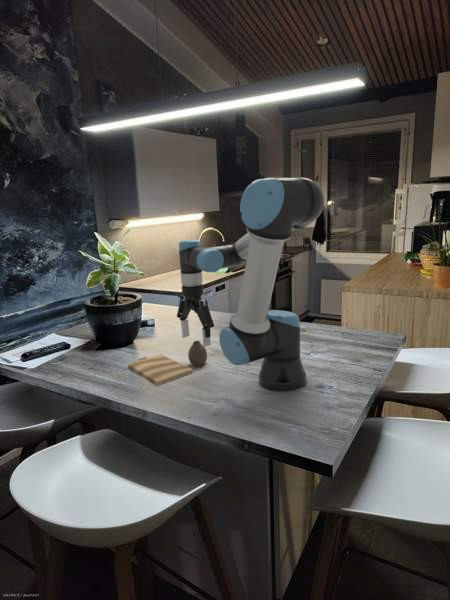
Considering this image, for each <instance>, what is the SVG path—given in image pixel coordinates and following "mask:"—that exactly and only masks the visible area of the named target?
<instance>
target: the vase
mask: <svg viewBox="0 0 450 600" xmlns="http://www.w3.org/2000/svg"><path fill="white" fill-rule="evenodd" d="M187 354H188V355H187V357H188V361H189V363H190V364H191V365H192V366H194V367H202V366H204V365H205V364H206V362H207V360H208V351H207V349H206V347H204V346H203V343H201V341H200V340H194V341H193V342H192V345H191V346H190V348H189V349H188V353H187Z"/></svg>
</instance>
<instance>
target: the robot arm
mask: <svg viewBox="0 0 450 600" xmlns="http://www.w3.org/2000/svg"><path fill="white" fill-rule="evenodd" d="M239 205H240V207H239V211H240V214H241V219H242V222H243V224H244V225H245V226H246V228H245V229H246V232H247V233H245V234H244V235H243V236H242V237H240V238H239V239H238V240H237V241H235V242H234V243H232V244H226V245H219V246H218V245H217V246H211V247H202V245H201V241H200V240H199V239H183V240H180V241H179V243H178V258H179V269H180V284H181V285H182V286H181V294H180V296H179V303H178V308H177V314H176V318H178V319H179V321H180V327H181V338H184V339H185V338H187V337H188V338H189V337H190V326H189V325H190V324H189V317H188V316H189V315H190V312H191V311H194V313H195V314H196V315H197V317H198V319H199V322H200V323H201V325H202V329H201V330H202V331H201V333H202V345H203V346H204V347H205V348H206V347H209V346H211V344H212V343H211V342H212V341H211V329H212V328H214V327H215V324H214V321H213V318H212V314H211V312H210V309H209V305H208V304H209V303H208V300H207V299H202V296H203V295H204V285H203V272H206V273H217V272H218V271H220V270H221V269H226V268H234V267H235V268H236V267H240V266H242V267H245V268H244V271H243V272H244V273H243V279H242V283H241V290H240V295H239V299H238V300H239V301H238V306H237V310H236V312H234V313H233V314H232V315H230V320H229V321H230V322H229V326H225V327H223V328H222V329H220V332H219V338H218V339H219V344H220V345H219V346H220V348H221V351H222V353H223V354H224V357H225V358H226V359H227V361H229V363H231V364H232V365H234V366H242V365H248V364H251V363H253V362H255V361H258V360H262V359H263V360H262V363H261V367H260V371H259V372H258V382H259V385H261V386H262V387H264V388H266V389H268V390H272V391H279V392H281V391H283V392H284V391H294V390H298V389H300V388H302V387H304V386H305V385H306V384H307V375H306V371H305V370H304V369H305V368H304V366H303V362H302V360H301V325H300V316H299V315H298V314H296V313H295V312H292V311H287V310H278V309H271V310H270V305H271V300H272V295H273V291H274V287H275V282H276V279H277V278H276V277H277V273H278V269H279V263H280V260H281V256H282V251H283V247H284V243H286V241H288V240H290V239H291V238H292V234H293V231H295V230H299V231H300V230H302V229H304V228H306V227H307V226H309V225H310V224H312V223H313V222H315V221H316V220H317V219H318V218H319V217H320V216H321V214H322V212H323V210H324V206H325V195H324V193H323V191H322V188H321V187H320V185H319V184H317V183H316V182H315V181H314V180H312V179H310V178H306V177H271V176H270V177H267V178H260V179H259V178H258V179H256V180H254V181H252V182H251V183H250V184H248V185H247V187H246V188H245V189H244V192H243V193H242V196H241V199H240V204H239Z"/></svg>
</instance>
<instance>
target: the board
mask: <svg viewBox="0 0 450 600" xmlns="http://www.w3.org/2000/svg"><path fill="white" fill-rule="evenodd" d="M127 368H129V369H130V370H132V371H134V372H136V374H138V375H140V376H142V377H143V378H145V379H146V380H149V381H150V382H152V383H153V384H155V385H156V386H160V385H163V384H164V383H168V382H171V381H173V380H175V379H179V378H181V377H184V376H188V375H191V374H193V369H192V368H190V367H189V366H188V367H187V366H186V365H183V364H182V363H179V362H178V361H175V360H174V359H172V358H170V357H167V356H165V355H163V354H162V353H161V354H157V355H154V356H150V357H145V356H144V357H142V358H138V360H137V361H134V362H130V363H128V364H127Z"/></svg>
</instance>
